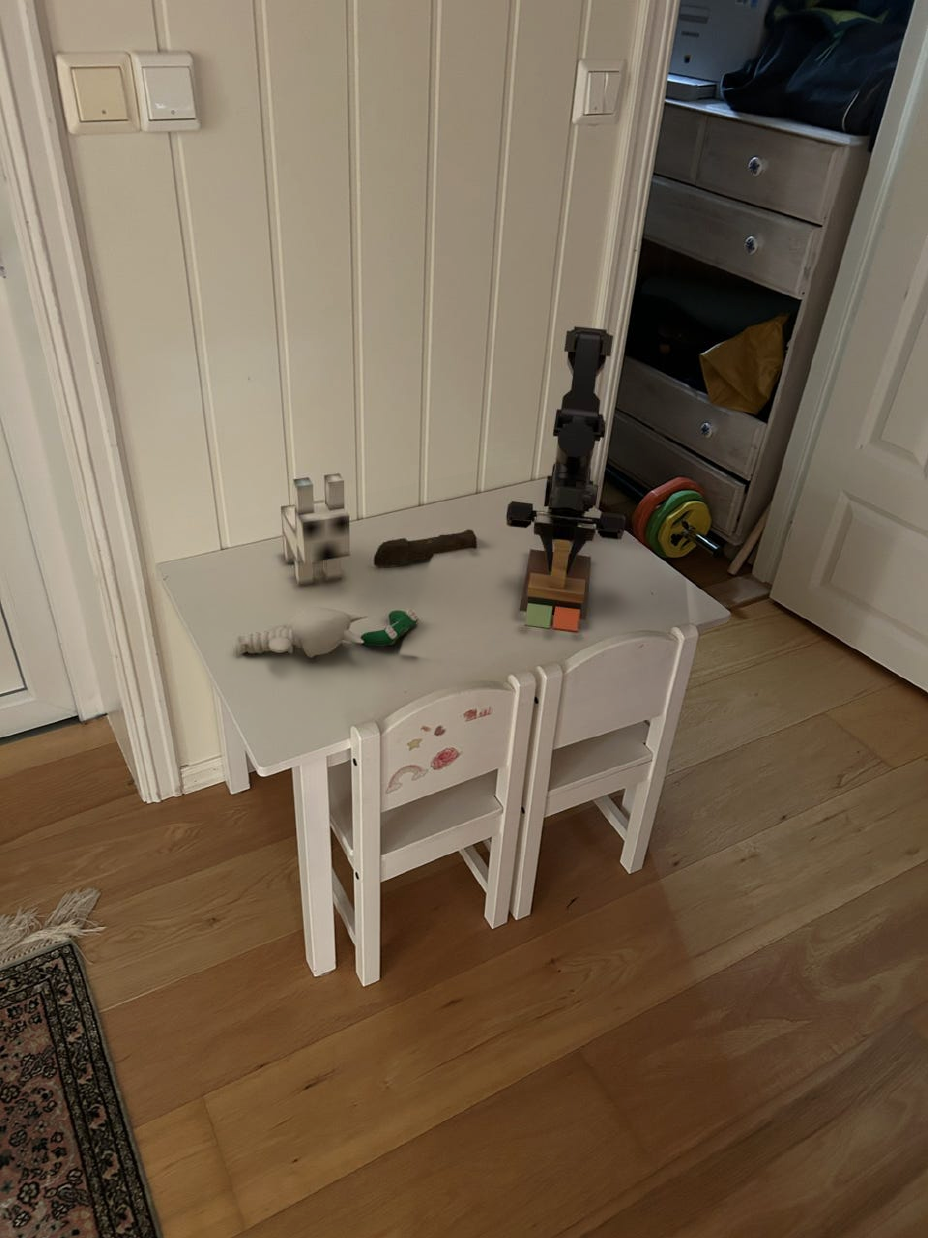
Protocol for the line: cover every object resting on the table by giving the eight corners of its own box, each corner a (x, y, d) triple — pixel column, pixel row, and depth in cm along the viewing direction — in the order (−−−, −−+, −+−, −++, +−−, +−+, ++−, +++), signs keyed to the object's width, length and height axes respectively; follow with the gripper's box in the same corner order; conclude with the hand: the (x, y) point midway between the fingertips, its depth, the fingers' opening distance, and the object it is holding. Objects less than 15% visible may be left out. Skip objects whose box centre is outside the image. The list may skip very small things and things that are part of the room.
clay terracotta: (554, 612, 152) (555, 606, 150) (578, 615, 151) (580, 609, 150) (551, 633, 150) (552, 627, 148) (576, 637, 149) (577, 630, 148)
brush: (528, 593, 155) (535, 533, 149) (581, 600, 154) (591, 541, 148) (525, 608, 152) (532, 547, 145) (580, 615, 151) (590, 555, 144)
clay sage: (527, 608, 152) (527, 602, 150) (551, 612, 152) (552, 606, 150) (524, 630, 150) (524, 624, 148) (548, 633, 150) (549, 627, 148)
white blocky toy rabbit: (321, 542, 169) (317, 440, 157) (350, 594, 156) (348, 487, 144) (280, 549, 166) (273, 445, 154) (306, 602, 153) (301, 493, 141)
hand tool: (469, 544, 171) (470, 522, 168) (477, 555, 168) (478, 532, 165) (370, 559, 165) (369, 537, 162) (376, 571, 162) (376, 548, 159)
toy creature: (240, 608, 145) (367, 592, 145) (249, 652, 147) (374, 637, 147) (223, 631, 133) (362, 614, 133) (233, 679, 135) (370, 662, 135)
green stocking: (369, 659, 145) (392, 647, 140) (355, 638, 144) (378, 626, 140) (403, 630, 151) (426, 618, 147) (390, 611, 151) (413, 598, 146)
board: (529, 555, 169) (530, 548, 168) (589, 563, 168) (591, 556, 167) (518, 618, 153) (519, 610, 152) (585, 627, 152) (586, 619, 151)
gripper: (512, 454, 143) (498, 552, 141) (634, 469, 142) (622, 568, 139) (513, 478, 154) (500, 569, 152) (626, 491, 152) (615, 584, 150)
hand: (558, 572), depth 148 cm, fingers closed on brush, 2 cm apart
